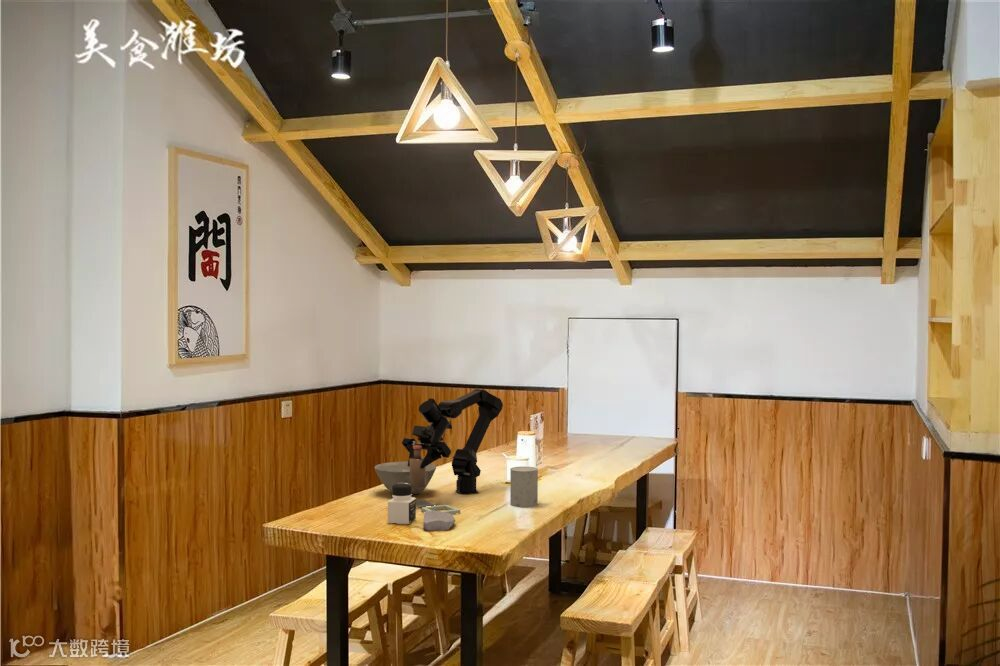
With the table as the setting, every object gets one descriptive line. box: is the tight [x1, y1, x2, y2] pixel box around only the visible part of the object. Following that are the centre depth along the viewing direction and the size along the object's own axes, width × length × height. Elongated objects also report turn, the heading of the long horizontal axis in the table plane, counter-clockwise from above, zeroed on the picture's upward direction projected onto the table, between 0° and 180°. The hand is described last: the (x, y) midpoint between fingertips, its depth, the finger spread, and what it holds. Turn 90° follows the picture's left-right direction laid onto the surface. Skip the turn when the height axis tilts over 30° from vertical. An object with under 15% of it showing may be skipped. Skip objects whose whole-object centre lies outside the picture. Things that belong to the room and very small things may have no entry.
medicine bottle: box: [387, 483, 417, 525], centre depth 284 cm, size 7×7×12 cm
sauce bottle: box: [410, 445, 427, 488], centre depth 308 cm, size 5×5×14 cm
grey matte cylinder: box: [509, 466, 539, 508], centre depth 310 cm, size 10×10×12 cm
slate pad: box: [416, 499, 438, 507], centre depth 309 cm, size 10×10×1 cm
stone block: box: [423, 510, 456, 532], centre depth 278 cm, size 12×5×10 cm
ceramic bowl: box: [374, 460, 437, 495], centre depth 328 cm, size 22×23×10 cm
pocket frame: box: [420, 504, 461, 515], centre depth 297 cm, size 10×10×1 cm
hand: (414, 467), depth 307 cm, fingers closed on sauce bottle, 5 cm apart
